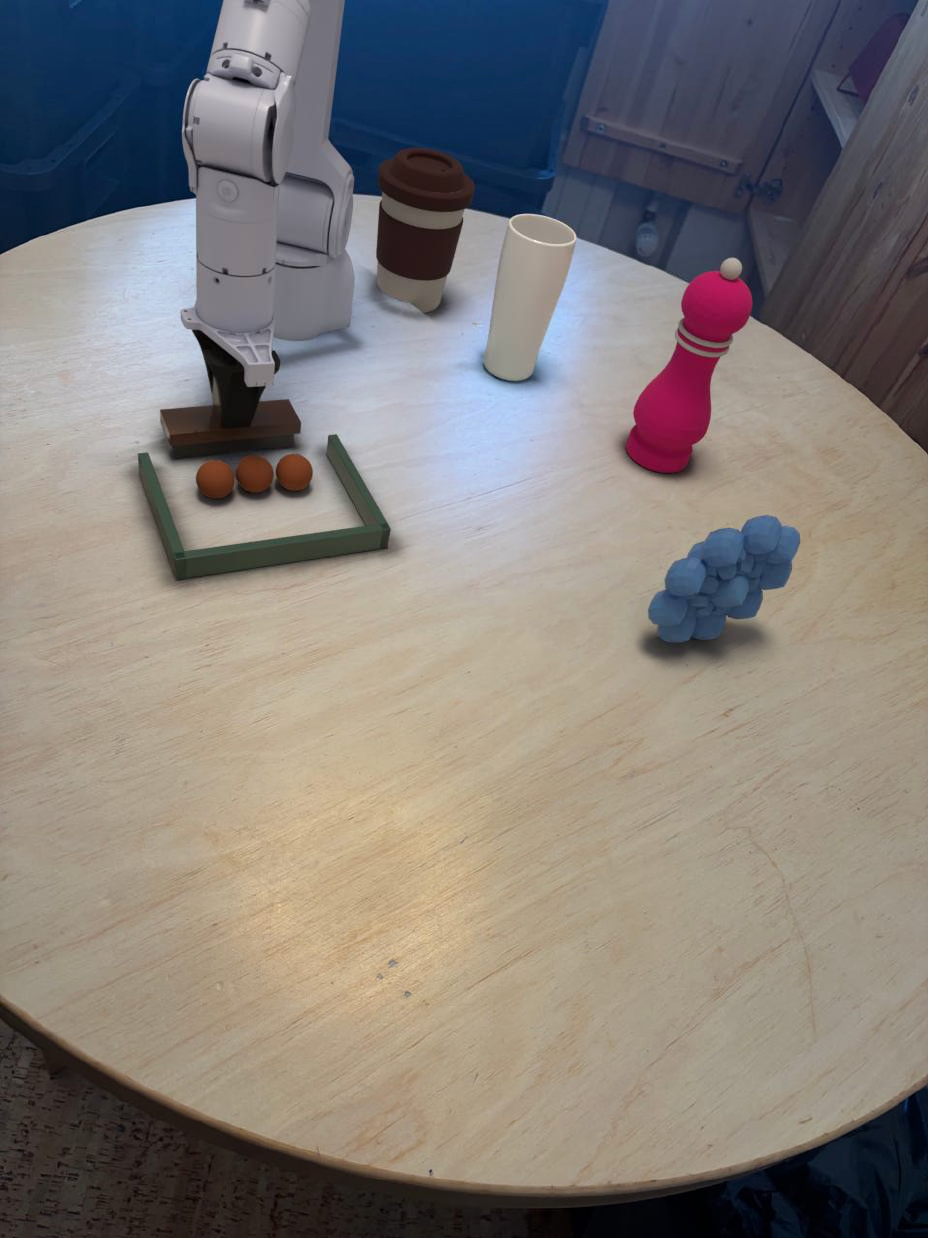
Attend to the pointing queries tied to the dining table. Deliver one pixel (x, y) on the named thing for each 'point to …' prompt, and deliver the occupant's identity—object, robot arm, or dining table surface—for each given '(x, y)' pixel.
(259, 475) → the ball middle
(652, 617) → the grapes
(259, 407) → the brush
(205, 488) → the ball
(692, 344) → the pepper mill
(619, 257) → the dining table surface
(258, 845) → the dining table surface
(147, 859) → the dining table surface
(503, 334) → the drinking glass
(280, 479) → the ball
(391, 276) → the coffee cup
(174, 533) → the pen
